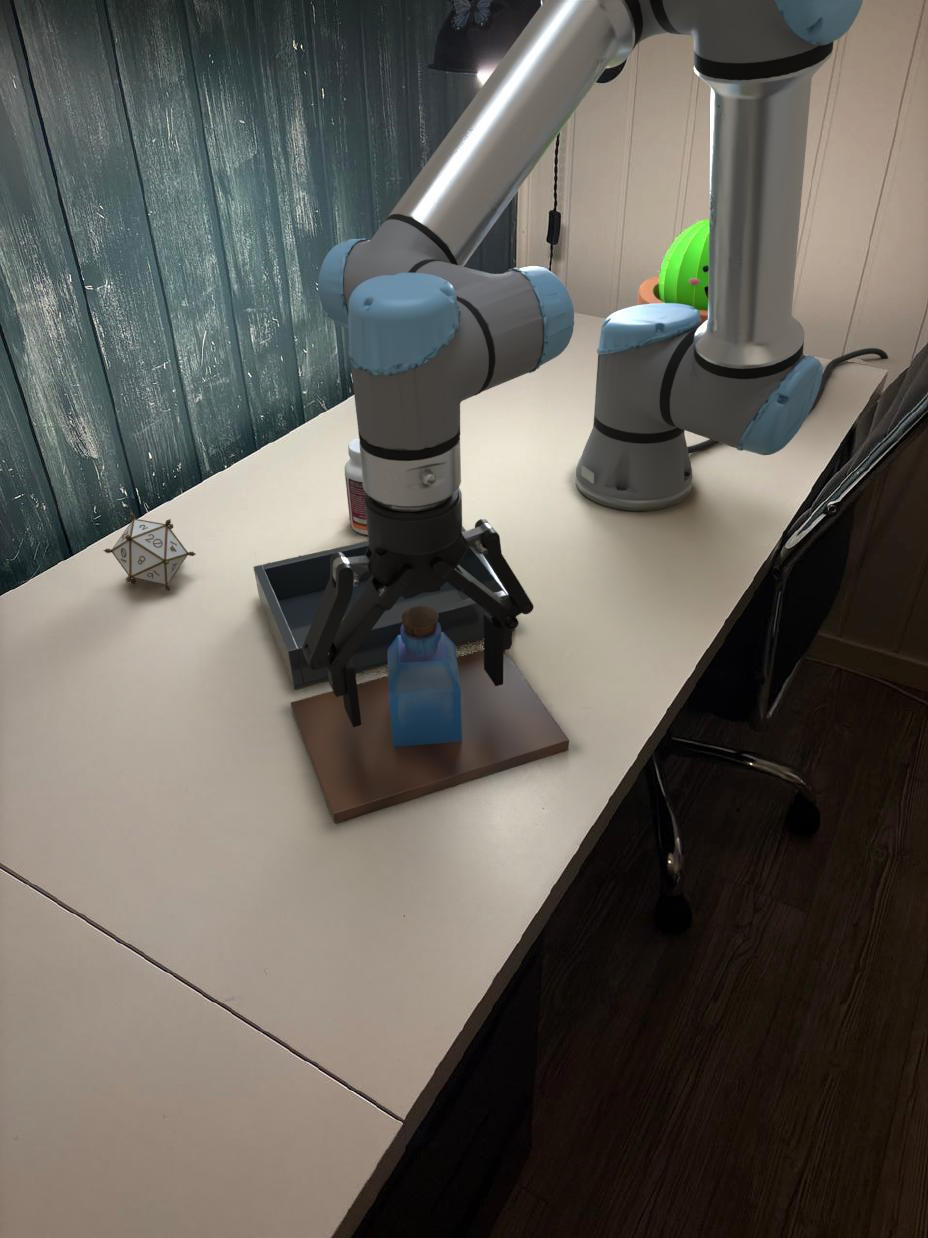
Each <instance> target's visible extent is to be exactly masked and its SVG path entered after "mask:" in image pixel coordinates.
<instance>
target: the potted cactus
mask: <svg viewBox="0 0 928 1238" xmlns="http://www.w3.org/2000/svg"><path fill="white" fill-rule="evenodd" d="M695 221H696V222H695ZM695 221H693V224H692V225H690V226H688V227H687V229H686V228H685V226H684V227H682V229H683V230H682V229H681V230H680V229H678V230H679V231H680V233H681V234H679V235H678V237H676V236H673V239H674V241H673V242H672V244H671V245H670V246H669V245H666V247H667V248H668V250H667V252H666V253H665V256H664V255H663V254H661V258H662V263H661V267H660V271H659V274H658V271H655V273H657V274H658V275H656V276H653V277H650V278H648V279H646V280H645V281H643V282H642V283H641V284H640V286H639V287H638V288H639V289H638V291H637V292H638V294H637V304H636V306H637V305H644V304H653V303H676V304H684V305H689V306H692V307H694V308H695V309H697V310H698V311H699V312H700V318H701V319H702V321H701V324H700V326H701V325H702V324H703V323H704V322H705V321H707V320H708V278H709V218H707V219H701V220H695Z"/></svg>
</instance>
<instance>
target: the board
mask: <svg viewBox="0 0 928 1238" xmlns="http://www.w3.org/2000/svg"><path fill="white" fill-rule="evenodd" d="M456 657H457V664H458V672H459V680H460V688H461V718H462V742H451V743H437V744H424V745H410V746H397V747H393V737H392V725H391V714H390V703H389V685H388V675H386V676H382V677H379V678H375V679H371V680H368V681H365V682H361V683H357V691H358V699H359V708H360V716H361V725H360V726H356V727H353V726H352V723H351V721H350V719H349V717H348V715H347V712H346V710H345V708H344V700H343V695H342V696H338V697H336V695H335V694H334V692H333V690H332V691H328V692H324V693H320V694H317V695H312V696H309V697H306V698H301V699H298V700H293V701H291V702H290V709H291V713H292V716H293V719H294V720H295V723H296V726H297V728H298V731H299V733H300V736H301V739H302V741H303V744H304V747H305V749H306V752H307V754H308V757H309V760H310V762H311V764H312V768H313V770H314V773H315V775H316V778H317V780H318V784H319V786H320V788H321V791H322V794H323V796H324V799H325V801H326V804H327V807H328V809H329V812H330V814H331V817H332V820H333V823H334V824H337V823H340V822H343V821H347V820H350V819H353V818H356V817H359V816H362V815H365V814H369V813H371V812H374V811H375V812H376V811H378V810H381V809H384V808H388V807H390V806H393V805H397V804H400V803H403V802H406V801H409V800H413V799H415V798H419V797H422V796H425V795H429V794H432V793H435V792H437V791H441V790H444V789H447V788H450V787H453V786H457V785H460V784H463V783H466V782H470V781H472V780H475V779H479V778H482V777H485V776H489V775H491V774H495V773H498V772H502V771H504V770H507V769H511V768H513V767H516V766H520V765H524V764H527V763H529V762H533V761H536V760H539V759H542V758H545V757H549V756H551V755H555V754H558V753H562V752H564V751H567V750H569V746H570V745H569V744H570V739H569V738H568V736H567V735H566V734H565V732H564V731H563V729H562V728H561V726H560V725H559V724H558V723H557V721H556V719H555V718H554V717H553V716H552V714H551V712H550V711H549V710H548V708H547V707H546V705H545V704H544V703H543V701H542V700H541V699H540V697H539V696H538V695H537V693H536V692H535V690H534V689H533V688H532V686H531V685H530V684H529V682H528V681H527V679H526V677H525V676H524V675H523V673H522V671H520V669H519V668H518V667H517V665H516V664H515V662H514V661H513V659H512V657H510V656H509V654H508V653H507V650H504V651H503V684H502V685H498V686H495V685H494V683H493V682H492V680H491V679H490V677H489V676H488V674H487V673H486V671H485V670H484V649H482V650H478V651H474V652H470V653H466V654H463V655H459V656H456Z"/></svg>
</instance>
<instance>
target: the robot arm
mask: <svg viewBox="0 0 928 1238" xmlns="http://www.w3.org/2000/svg"><path fill="white" fill-rule="evenodd" d="M863 1H864V0H540V7H539V8H538V9H537V11H536V12H535V14H534V15H533V16H532V18H531V19H530V20H529V22H528V24H527V25H526V26H525V27H524V28H523V30H522V31H521V33H520V34H519V36H518V37H517V38H516V40H515V41H514V42H513V44H512V45H511V47H510V48H509V49H508V50H507V52H506V54H505V55H504V57H502V58H501V60H500V61H499V63H498V64H497V65H496V67H495V68H494V70H493V71H492V73H491V74H490V75H489V77H488V78H487V80H486V81H485V82H484V83H483V85H482V87H480V89H479V90H478V92H477V93H476V94H475V96H474V97H473V99H472V100H471V101H470V103H469V104H468V106H467V107H466V108H465V110H464V111H463V112H462V114H461V116H460V117H459V118H458V119H457V121H456V122H455V124H454V125H453V126H452V128H451V129H450V130H449V132H447V134H446V136H445V137H444V138H443V140H442V141H441V143H440V144H439V145H438V147H437V148H436V150H435V151H434V152H433V153H432V155H431V156H430V158H429V159H428V160H427V162H426V163H425V165H424V166H423V168H422V169H421V170H420V171H419V173H418V174H417V176H416V177H415V178H414V180H413V181H412V183H411V184H410V185H409V186H408V188H407V189H406V191H405V192H404V193H403V195H402V196H401V198H400V199H399V200H398V202H397V203H396V204H395V206H394V207H393V208H392V210H391V211H390V213H389V214H388V216H387V217H386V219H385V221H384V222H382V224H380V227H379V228H378V229H377V231H376V232H375V233H374V235H373V236H372V238H371V239H368V238H364V237H362V238H349V239H346V240H343V241H342V242H340V243H338V244H336V245H334V246H333V247H332V248H331V249H330V250H329V251H328V253H327V254H326V256H324V257H325V258H324V259H323V261H322V264H321V266H320V270H319V273H318V280H317V285H318V286H317V288H318V291H317V292H318V296H319V301H320V303H321V306H322V309H323V311H324V312H325V313H326V315H327V317H328V318H329V319H330V320H331V321H332V322H333V323H334V324H337V325H339V326H340V327H342V328H344V329H346V330H348V343H347V350H348V352H347V357H349V363H350V369H351V378H352V388H353V396H354V406H355V413H356V420H357V421H356V422H357V433H358V438H359V444H360V456H361V468H362V480H363V488H364V490H365V492H366V494H365V511H366V521H367V532H368V535H367V541H369V544H368V549H367V551H366V553H365V555H363V556H356V557H348V558H346V557H345V556H344V554H343V553H341V552H336V553H334V554H333V555H332V556H331V558H330V579H329V581H328V584H327V586H326V589H325V591H324V594H323V596H322V599H321V601H320V604H319V606H318V609H317V611H316V614H315V616H314V619H313V621H312V624H311V626H310V629H309V631H308V634H307V636H306V639H305V641H304V644H303V646H302V651H303V653H304V656H305V658H306V660H307V662H308V665H309V667H310V669H311V670H319V669H320V668H322V667H326V668H327V669H328V676H329V681H328V683H329V685H330V688H331V690H332V691H333V692H334V694H335V695H336V697H338V696H342V695H343V700H344V708H345V710H346V712H347V715H348V717H349V719H350V721H351V723H352V726H353V727H356V726H360V725H361V716H360V708H359V699H358V691H357V684H358V683H357V675H356V674H357V673H355V667H354V665H353V663H352V661H351V659H350V658H351V657H352V656H353V654H354V653H355V652H356V650H357V649H358V647H359V646H360V645H361V643H362V642H363V641H364V639H365V638H366V636H367V635H368V634H369V632H370V631H371V630H372V628H373V627H374V626H375V624H376V623H377V621H378V620H379V619H380V617H381V616H382V615H383V613H384V612H385V611H386V610H390V609H391V608H392V607H393V606H394V604H395V603H396V601H397V600H398V599H399V597H400V596H403V597H404V598H405V599H407V598H411V597H414V596H416V595H419V594H421V593H423V592H435V591H439V590H440V587H442V586H443V585H444V584H446V582H448V583H449V584H450V585H452V586H453V587H454V588H456V589H457V590H458V591H460V592H463V593H464V594H465V595H467V596H468V597H469V598H471V599H472V600H473V601H474V602H476V603H477V604H478V605H480V606H481V607H482V608H484V609H485V610H486V611H487V613H484V639H483V650H484V670H485V671H486V673H487V674H488V676H489V677H490V679H491V680H492V682H493V683H494V685H495V686H498V685H502V684H503V651H504V650H505V651H507V650H510V649H511V648H512V645H513V631H512V630H513V629H515V630H516V628H517V627H518V626H519V620H518V618H517V617H518V616H519V615H521V614H523V615H528V614H530V613H532V611H533V610H534V604H533V602H532V601H531V598H530V597H529V595H528V594H527V592H526V590H525V589H524V587H523V586H522V584H521V583H520V581H519V579H518V578H517V576H516V575H515V573H514V572H513V569H512V568H511V566H510V564H509V563H508V561H507V560H506V558H505V556H504V555H503V553H502V552H503V551H502V545H501V537H500V534H499V533H498V532H497V531H496V529H495V528H494V527H493V526H492V525H491V523H490V522H489V521H488V520H487V519H485V518H480V519H478V520H477V521H476V522H475V524H474V528H471V529H469V530H466V531H465V532H462V526H463V497H462V495H463V494H462V491H461V488H460V486H461V484H462V466H461V465H462V463H461V459H462V458H461V404H462V402H463V401H466V400H467V399H470V398H473V397H475V396H478V395H480V394H481V393H483V392H485V391H488V390H490V389H492V388H495V387H497V386H500V385H502V384H504V383H507V382H509V381H511V380H514V379H517V378H519V377H522V376H524V375H526V374H531V373H534V372H536V371H537V370H538V369H540V368H541V366H542V365H544V364H546V363H548V362H550V361H552V360H553V359H555V358H557V357H558V356H560V355H561V354H562V353H563V352H564V351H565V350H566V349H567V348H568V346H569V344H570V342H571V339H572V337H573V333H574V326H575V309H574V303H573V301H572V298H571V295H570V292H569V290H568V289H567V287H566V286H565V284H564V282H563V281H562V280H561V279H560V277H559V276H557V275H556V274H555V273H553V272H552V271H551V270H549V269H547V268H545V267H542V266H537V265H530V266H525V267H513V268H510V269H507V270H506V271H505V272H504V273H496V274H495V273H489V272H486V271H482V270H478V269H474V268H469V267H466V266H465V265H466V264H467V262H468V261H469V259H470V258H471V257H472V256H473V254H474V253H475V251H476V250H477V249H478V247H479V246H480V244H481V243H482V242H483V240H484V239H485V237H486V236H487V234H488V233H489V231H491V229H492V228H493V226H494V224H495V223H496V222H497V221H498V219H499V218H500V216H501V215H502V214H503V212H504V211H505V209H507V207H508V205H509V204H510V202H511V201H512V199H514V197H515V195H516V194H517V193H518V191H519V190H520V188H521V187H522V186H523V185H524V183H525V182H526V180H527V179H528V178H529V176H530V175H531V173H532V172H533V171H534V169H535V168H536V166H537V165H538V164H539V162H540V161H541V159H543V157H544V155H545V154H546V152H547V151H548V149H549V148H550V147H551V145H552V144H553V143H554V141H555V140H556V138H557V137H558V136H559V134H560V132H561V131H562V130H563V128H564V127H565V126H566V124H567V123H568V122H569V120H570V119H571V118H572V116H573V115H574V113H575V112H576V110H577V109H578V108H579V106H580V105H581V103H582V102H583V101H584V99H585V98H586V96H587V95H588V93H589V92H590V91H591V89H592V88H593V87H594V85H595V84H596V82H597V81H598V80H599V79H600V77H601V76H602V74H603V73H604V71H605V70H606V69H612V68H615V67H618V66H620V65H621V64H623V63H624V62H625V61H626V60H627V59H628V57H629V56H630V55H631V53H632V52H633V50H634V49H635V48H636V46H637V45H638V44H639V43H641V42H643V41H644V40H647V39H648V38H650V37H653V36H657V35H662V34H671V35H684V36H692V37H693V71H694V73H695V74H696V75H697V77H699V78H700V79H701V80H702V81H703V82H704V83H706V85H708V86H709V88H710V131H709V132H710V138H709V139H710V142H709V204H708V205H709V206H708V207H709V208H708V209H709V210H708V211H709V214H708V215H709V216H708V219H709V278H708V320H707V321H705V322H704V323H703V324H702V325H701V326H700V324H701V321H702V319H701V318H700V312H699V311H698V310H697V309H695V308H694V307H692V306H689V305H684V304H676V303H653V304H644V305H637V304H636V305H633V306H629V307H624V308H622V309H619V310H617V311H615V312H613V313H611V314H610V315H608V316H607V317H606V318H605V319H604V321H603V322H602V325H601V328H600V329H601V330H600V335H599V336H600V337H599V340H598V341H599V343H598V348H597V350H596V353H597V365H596V369H597V370H596V380H595V381H596V382H595V395H594V397H595V398H594V408H593V409H594V410H593V411H594V412H593V413H594V414H593V424H592V429H591V431H590V434H589V436H588V438H587V441H586V443H585V446H584V448H583V451H582V453H581V456H580V458H579V460H578V461H577V466H576V470H575V484H576V486H577V489H578V491H579V492H580V493H582V495H584V496H585V497H586V498H588V499H589V500H591V501H592V502H595V503H597V504H600V505H603V506H606V507H608V508H611V509H612V508H613V509H618V510H623V511H632V512H647V511H648V512H649V511H656V510H661V509H665V508H670V507H672V506H674V505H676V504H679V503H680V502H682V501H683V500H685V499H686V498H687V497H688V496H689V494H690V492H691V490H692V484H693V469H692V464H691V459H690V454H693V453H697V452H700V451H703V450H705V449H708V448H710V447H713V446H715V445H717V444H723V445H725V446H729V447H731V448H734V449H736V450H737V451H739V452H741V451H747V452H750V453H753V454H757V455H760V456H771V455H775V454H776V453H778V452H780V451H781V450H783V449H784V448H785V447H786V446H787V445H788V444H789V443H790V442H792V440H793V439H794V437H795V436H796V435H797V433H798V432H799V430H800V429H801V428H802V426H803V424H804V423H805V421H806V419H807V417H808V416H809V414H810V412H811V410H812V409H813V407H814V406H815V405H816V404H817V403H818V402H817V401H818V400H819V398H820V397H821V395H822V393H823V391H824V389H825V386H826V383H827V380H828V379H829V377H830V375H831V372H832V371H833V368H834V367H835V366H837V365H839V364H841V363H843V362H846V361H849V360H852V359H855V358H858V357H861V356H866V355H876V356H879V357H880V359H883V360H887V359H889V355H888V354H887V352H886V351H885V350H883V349H881V348H877V347H867V348H862V349H858V350H854V351H851V352H848V353H846V354H844V355H840V356H838V357H836V358H834V359H832V360H831V361H829V362H828V364H826V366H825V369H824V367H823V364H822V363H821V361H820V360H819V359H818V358H816V357H815V356H814V355H811V354H808V355H807V354H806V355H805V354H804V345H805V330H804V327H803V325H802V324H801V322H800V321H799V320H798V319H797V318H795V317H794V316H792V315H793V313H792V312H793V303H794V291H795V290H794V289H795V280H796V279H795V278H796V268H797V267H796V266H797V254H798V243H799V231H800V220H801V219H800V218H801V210H802V209H801V208H802V197H803V195H802V194H803V184H804V173H805V162H806V151H807V150H806V149H807V139H808V126H809V116H810V115H809V113H810V103H811V92H812V81H813V80H812V79H813V77H814V75H815V74H816V73H817V72H818V71H819V70H820V69H821V68H822V67H823V66H824V65H825V64H826V63H827V61H828V60H829V59H830V58H831V57H832V55H833V51H834V43H835V41H837V40H839V39H840V38H842V37H843V36H844V35H845V34H846V33H848V31H849V30H850V29H851V28H852V26H853V24H854V22H855V21H856V19H857V17H858V15H859V13H860V10H861V8H862V5H863ZM685 431H686V432H689V433H692V434H694V435H696V436H697V435H698V436H700V437H703V438H705V439H706V438H707V440H705V441H701V442H700V443H697V444H696V443H695V444H693V445H689V446H688V445H687V440H686V439H687V438H686V435H685ZM468 547H472V548H473V549H474V550H475V552H476V553H478V554H483V556H484V557H485V559H486V560H487V562H488V563H489V565H490V567H491V568H492V570H493V571H494V573H495V574H496V576H497V578H498V579H499V581H500V582H501V584H502V585H503V587H504V589H505V590H506V592H507V593H508V595H509V597H507V598H506V599H504V600H502V599H501V598H499V597H498V596H497V595H496V594H494V593H493V592H492V591H490V590H489V589H488V588H487V587H485V586H484V585H483V584H482V583H480V582H479V581H478V580H477V579H475V578H474V577H473V576H472V575H470V574H469V573H468V572H467V571H465V570H464V569H463V568H462V567H460V566H459V565H458V564H459V563H460V561H461V560H462V558H463V557H464V555H465V554H466V552H467V549H468ZM365 572H370V574H371V576H370V578H369V579H368V581H367V582H366V586H365V590H364V592H363V593H362V595H361V596H360V597H359V599H358V600H357V602H356V603H355V604H354V606H353V607H352V609H351V610H350V611H349V613H348V614H347V616H346V617H345V618H344V620H343V621H342V619H343V617H344V614H345V612H346V609H347V607H348V605H349V602H350V600H351V597H352V592H353V586H355V587H356V586H358V585H359V581H360V578H361V576H362V574H364V573H365ZM383 586H385V587H386V590H384V588H383ZM341 621H342V623H341Z"/></svg>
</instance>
